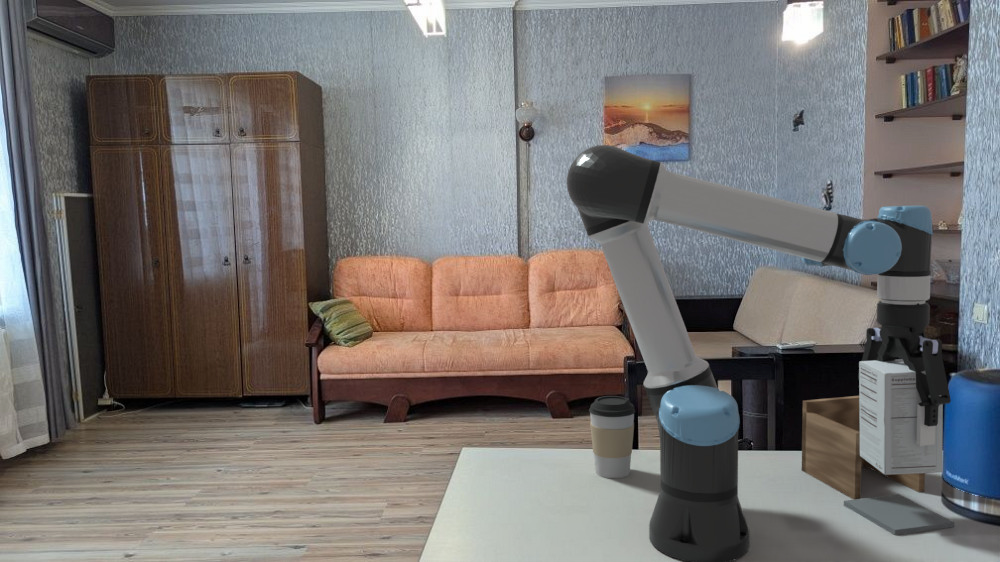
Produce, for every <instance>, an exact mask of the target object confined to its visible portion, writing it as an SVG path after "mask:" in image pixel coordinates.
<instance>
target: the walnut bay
mask: <svg viewBox="0 0 1000 562" xmlns="http://www.w3.org/2000/svg"><path fill="white" fill-rule="evenodd" d="M801 421H802V427H801V429H802V431H801V471H802V472H804V473H806V475H807V474H808V475H809V476H811V477H812V478H815V479H816V480H818V481H820V482H821V483H823V484H825V485H827V486H829V487H831V488H833V490H834V489H835V490H836V491H838V492H839V493H841V494H843V495H846V496H847V497H849V498H850V499H851V500H854V499H862V498H861V495H862V494H861V491H862V490H861V489H862V485H861V484H862V467H866V468H867V469H870V470H873V471H874V472H876V473H878V474H880V475H883V476H885V477H887V478H888V479H890V480H893V481H895V482H897V483H899V484H901V485H903V486H906V487H907V488H909V489H912V490H913V491H915V492H918V493H923V492H925V488H926V487H925V484H926V483H925V480H926V473H915V474H891V475H885V474H883V473H882V472H880V471H879V470H878V469H876V468H875V467H874V466H873V465H871V464H870V463H869V462H867V461H866V460H865V459H863V458H862V457H861V456H860V406H859V395H853V396H843V397H842V396H841V397H829V398H818V399H807V400H802V419H801Z"/></svg>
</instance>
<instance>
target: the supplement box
mask: <svg viewBox="0 0 1000 562" xmlns="http://www.w3.org/2000/svg"><path fill="white" fill-rule="evenodd" d="M858 368H859V369H858V374H859V380H858V381H859V385H858V388H859V390H858V391H859V394H858V396H859V406H860V456H861V457H862V458H863V459H865V460H866V461H867V462H869V463H870V464H871V465H873V466H874V467H875V468H876V469H878V470H879V471H880V472H882V473H883V474H885V475H891V474H915V473H925V474H933V473H934V474H935V473H938V474H939V473H943V426H944V425H943V424H944V423H943V420H944V419H943V415H944V413H943V411H944V409H943V406H944V404H941V405H939V407H938V424H937V426H935V444H934V445H925V446H919V445H916V441H917V404H918V403H921V402H922V401H921V399H920V396H919V393H918V391H917V388H916V372H915V371H912V370H909V367H908V366H907V365H905V364H904V361H903V359H900V358H898V359H897V358H896V359H895V360H894V361H885V362H881V361H876V360H875V361H862V360H861V361H859V362H858ZM922 373H924V374H926V372H925V371H923V372H922ZM940 396H941V395H940ZM928 397H929V398H930V395H929V396H928Z"/></svg>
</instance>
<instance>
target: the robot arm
mask: <svg viewBox="0 0 1000 562" xmlns="http://www.w3.org/2000/svg"><path fill="white" fill-rule="evenodd" d="M566 186H567V187H566V188H567V192H568V196H569V198H570V200H571V202H572V203H573V204H574V205H575V206H576V208H577V211H578V213H579V216H580V219H581V221H582V225H583V226H584V229H585V232H586V235H587V237H588V238H589V239H591V240H592V241H595V242H596V243H598V244H600V247H601V250H602V252H603V255H604V257H605V260H606V262H607V265H608V268H609V271H610V274H611V275H612V279H613V282H614V284H615V287H616V290H617V292H618V295H619V297H620V300H621V303H622V305H623V309H624V310H625V311H624V312H625V313H626V316H627V319H628V322H629V324H630V327H631V329H632V332H633V335H634V337H635V340H636V343H637V346H638V348H639V352H640V354H641V356H642V358H643V361H644V364H645V366H646V367H645V368H646V370H647V375H646V377H645V379H644V380H643V386H644V389H645V391H646V395H647V398H648V401H649V403H650V406H651V408H652V411H653V414H654V417H655V421H656V422H657V426H658V427H657V428H658V433H659V448H660V449H659V450H660V451H659V452H660V454H659V455H660V457H659V459H660V460H659V461H660V462H659V463H660V472H659V473H660V474H659V475H660V476H659V477H660V487H659V488H660V491H659V494H658V496H657V500H656V502H655V505H654V508H653V511H652V515H651V517H650V520H649V524H648V525H649V526H648V527H649V528H648V530H649V531H648V532H649V534H648V535H649V536H648V537H649V542H650V543H651V545H652V546H653V547H654V548H655V549H657V550H658V551H660V552H661V553H662V554H665V555H667V556H670V557H672V558H675V559H678V560H681V561H686V562H731V561H735V560H738V559H740V558H742V557H743V556H745V555H746V554H747V553H748V552H749V550H750V530H749V527H748V523H747V521H746V520H747V519H746V517H745V515H744V511H743V508H742V505H741V501H740V500H739V494H738V492H739V489H738V488H739V429H740V424H741V423H740V421H741V420H740V414H739V407H738V403H737V401H736V399H735V397H733V395H731V394H730V393H729V392H727V391H724V390H720V389H719V388H718V385H717V383H716V380H715V378H714V375H713V372H712V369H711V367H710V364H709V362H708V361H707V360H705V359H702V358H700V357H698V356H697V355H696V352H695V350H694V347H693V344H692V341H691V338H690V336H689V333H688V331H687V327H686V324H685V321H684V320H683V317H682V314H681V312H680V309H679V305H678V304H677V300H676V299H675V296H674V293H673V290H672V287H671V285H670V282H669V279H668V277H667V274H666V272H665V269H664V266H663V263H662V260H661V257H660V254H659V252H658V250H657V247H656V244H655V242H654V239H653V236H652V234H651V231H650V228H649V223H650V222H652V221H658V222H662V223H666V224H669V225H674V226H677V227H682V228H685V229H689V230H692V231H696V232H701V233H705V234H709V235H713V236H718V237H721V238H725V239H729V240H733V241H737V242H741V243H745V244H748V245H751V246H756V247H760V248H764V249H768V250H771V251H776V252H779V253H783V254H788V255H791V256H796V257H799V258H800V259H801V261H802V262H803V264H804V265H805V266H808V267H810V266H811V267H813V266H814V267H820V268H823V267H837V268H841V269H844V270H850V271H853V272H855V273H856V274H857V273H858V274H861V275H865V276H870V275H877V283H876V284H877V287H876V288H877V289H876V297H877V298H878V299H880V300H879V301H878V303H876V322H877V324H879V325H880V326H879V327H868V328H867V329H866V333H865V334H866V342H865V345H864V346H865V347H864V350H863V354H862V358H861V361H875V360H876V361H881V362H885V361H894V360H895V359H897V358H898V359H903V361H904V364H905V365H907V366H908V367H909V370H912V371H915V372H916V388H917V391H918V393H919V396H920V399H921V401H922V402H921V403H918V404H917V441H916V445H919V446H925V445H934V444H935V426H937V424H938V407H939V405H941V404H943V405H946V404H947V405H948V404H950V403H951V394H950V390H949V385H948V380H947V375H946V371H945V365H944V359H943V354H942V352H943V341H942V340H941V339H930V338H927V336H926V333H925V329H926V328H927V327H928V325H930V319H931V318H930V317H931V316H930V313H931V312H930V311H931V305H930V304H929V302H926V301H929V300H930V298H931V267H932V266H931V264H932V248H933V247H932V246H933V245H932V244H933V236H934V232H933V217H932V211H931V209H930V208H929V207H928V206H926V205H892V206H891V205H889V206H882V207H880V209H879V210H878V215H877V218H868V219H862V218H857V217H855V216H850V215H844V214H840V213H837V212H834V211H829V210H826V209H821V208H819V207H818V208H817V207H813V206H809V205H805V204H801V203H798V202H793V201H790V200H785V199H782V198H777V197H773V196H769V195H766V194H762V193H757V192H753V191H750V190H745V189H742V188H741V189H740V188H737V187H733V186H730V185H725V184H721V183H718V182H717V183H716V182H714V181H709V180H706V179H701V178H698V177H692V176H688V175H684V174H680V173H677V172H673V171H670V170H667V168H666V167H665V165H664V163H663V162H662V161H661V162H660V161H656V160H653V159H650V158H645V157H642V156H640V155H637V154H634V153H632V152H630V151H627V150H624V149H622V148H620V147H618V146H615V145H609V144H598V145H595V146H591V147H588V148H587V149H584V150H583V151H582V152H581V153H579V154H578V155H577V156H576V157H575V159H573V161H572V163H571V164H570V167H569V169H568V173H567V176H566ZM923 371H925V372H926V374H924V373H922V372H923ZM857 380H858V381H859V373H858V374H857ZM929 395H930V398H929V397H928V396H929ZM940 395H941V396H940Z"/></svg>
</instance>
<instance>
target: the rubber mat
mask: <svg viewBox="0 0 1000 562" xmlns="http://www.w3.org/2000/svg"><path fill="white" fill-rule="evenodd" d="M843 506H845V507H846V508H848V509H850V510H851V511H853V512H855V513H856V514H858V515H860V516H862V517H863V518H865V519H866V520H868V521H870V522H871V523H874V524H876V525H877V526H879V527H880V528H882V529H884V530H885V531H887V532H890V533H891V534H892V535H894V536H896V535H903V534H912V533H919V532H920V533H921V532H925V531H934V530H940V529H948V527H950V528H954V527H955V521H954V520H951V519H949V518H947V517H945V516H944V515H941V514H939V513H937V512H935V511H933V510H931V509H930V508H927V507H925V506H923V505H921V504H919V503H917V502H916V501H913V500H911V499H909V498H907V497H905V496H904V495H902V494H899V493H895V494H889V495H881V496H871V497H865V498H863V497H862V498H860V499H848V500H847V499H846V500H843ZM953 526H954V527H953Z"/></svg>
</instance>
